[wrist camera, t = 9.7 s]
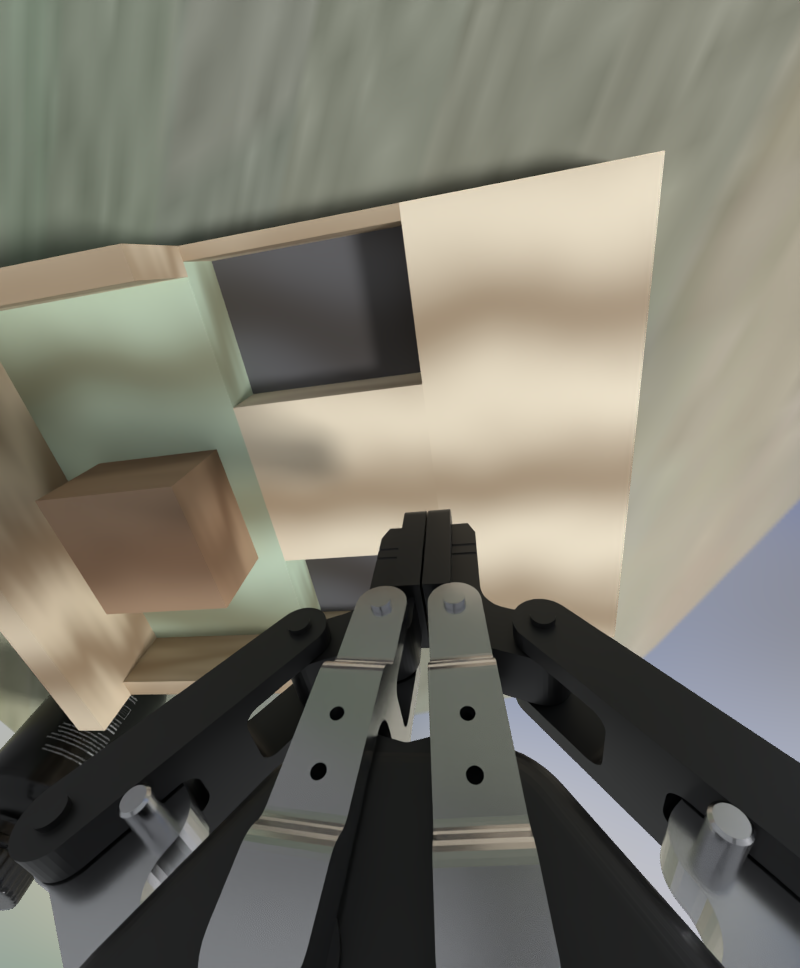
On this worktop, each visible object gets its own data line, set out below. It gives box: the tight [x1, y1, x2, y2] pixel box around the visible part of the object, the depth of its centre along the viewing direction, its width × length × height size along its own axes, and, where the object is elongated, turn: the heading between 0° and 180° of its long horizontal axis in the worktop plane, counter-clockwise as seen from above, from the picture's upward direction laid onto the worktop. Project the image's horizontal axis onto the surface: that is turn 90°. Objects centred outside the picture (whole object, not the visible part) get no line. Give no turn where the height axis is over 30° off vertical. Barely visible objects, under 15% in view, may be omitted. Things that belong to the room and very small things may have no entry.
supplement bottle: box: [0, 694, 166, 910], centre depth 27 cm, size 7×7×12 cm
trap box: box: [0, 151, 665, 731], centre depth 18 cm, size 20×27×8 cm
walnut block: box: [35, 449, 258, 614], centre depth 19 cm, size 6×6×4 cm
